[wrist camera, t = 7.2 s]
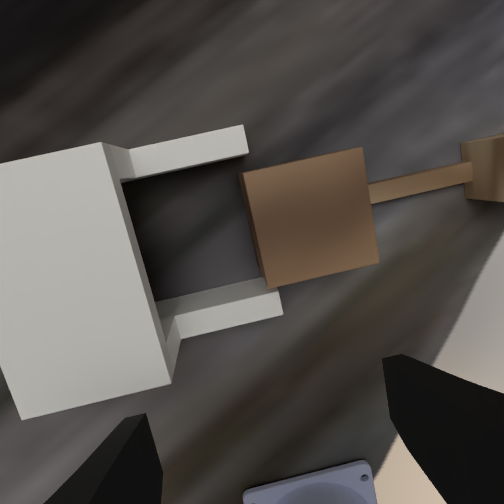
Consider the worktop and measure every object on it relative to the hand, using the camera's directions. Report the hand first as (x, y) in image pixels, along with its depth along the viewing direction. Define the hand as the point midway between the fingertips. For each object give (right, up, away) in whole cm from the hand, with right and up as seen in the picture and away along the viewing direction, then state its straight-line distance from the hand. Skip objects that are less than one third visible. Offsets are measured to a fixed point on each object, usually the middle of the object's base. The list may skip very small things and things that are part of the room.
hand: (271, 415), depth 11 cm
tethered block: (+7, +8, +9) cm, 14 cm away
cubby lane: (-5, +5, +9) cm, 12 cm away
